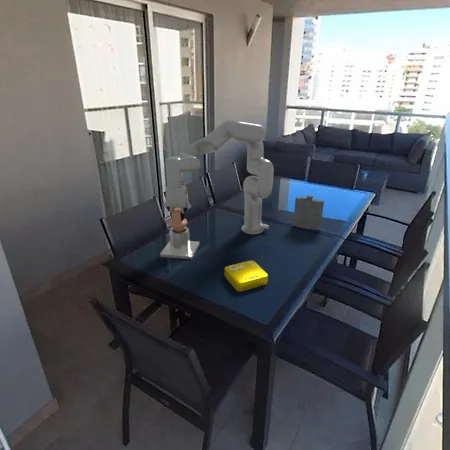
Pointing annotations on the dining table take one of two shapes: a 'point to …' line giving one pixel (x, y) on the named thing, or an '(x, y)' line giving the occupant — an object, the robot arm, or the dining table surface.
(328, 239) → the dining table surface
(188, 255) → the hex socket plate
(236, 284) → the element tile
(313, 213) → the hip flask
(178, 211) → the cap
